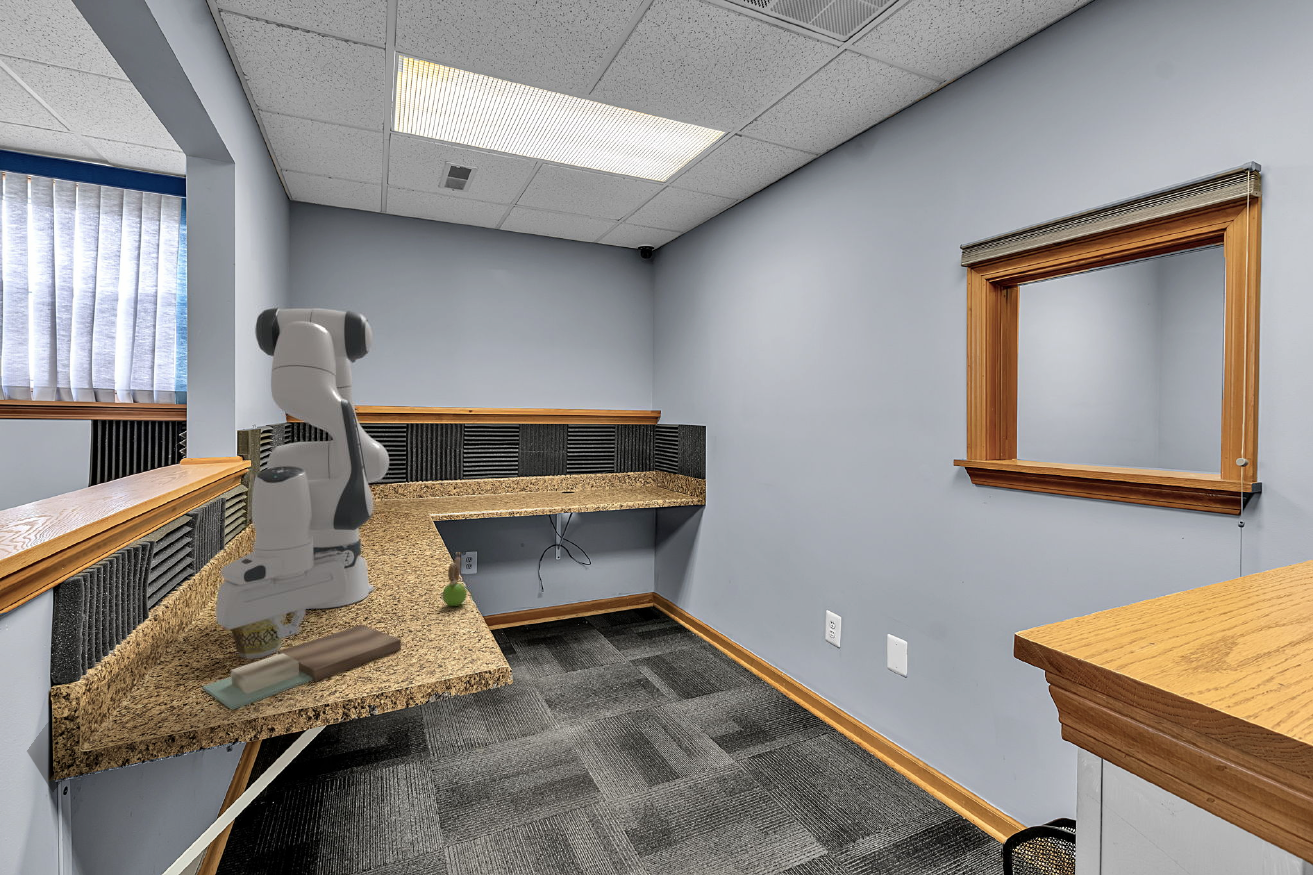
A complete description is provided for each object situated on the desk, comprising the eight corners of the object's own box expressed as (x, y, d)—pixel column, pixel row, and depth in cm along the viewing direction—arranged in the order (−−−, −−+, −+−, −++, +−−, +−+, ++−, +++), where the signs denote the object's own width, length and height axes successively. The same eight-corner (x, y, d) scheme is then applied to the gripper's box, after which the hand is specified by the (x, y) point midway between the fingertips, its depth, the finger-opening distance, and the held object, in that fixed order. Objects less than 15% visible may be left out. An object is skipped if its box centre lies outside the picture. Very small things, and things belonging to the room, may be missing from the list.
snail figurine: (470, 600, 143) (469, 551, 143) (463, 609, 137) (461, 558, 136) (448, 600, 143) (447, 551, 142) (439, 609, 137) (438, 558, 136)
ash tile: (231, 684, 100) (231, 669, 100) (283, 666, 106) (282, 653, 106) (246, 693, 96) (246, 679, 96) (299, 675, 103) (298, 661, 103)
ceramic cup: (281, 659, 111) (279, 606, 110) (219, 666, 108) (216, 612, 107) (301, 633, 123) (299, 586, 122) (246, 639, 120) (244, 591, 120)
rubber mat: (202, 689, 99) (202, 686, 99) (280, 663, 109) (280, 660, 109) (231, 709, 92) (231, 706, 92) (312, 680, 102) (312, 677, 102)
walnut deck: (278, 661, 109) (277, 651, 109) (362, 633, 123) (362, 624, 122) (315, 681, 101) (314, 670, 101) (401, 649, 115) (400, 639, 114)
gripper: (335, 544, 114) (338, 613, 115) (209, 570, 97) (214, 651, 98) (352, 549, 110) (355, 621, 111) (224, 577, 94) (229, 661, 95)
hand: (288, 635), depth 105 cm, fingers closed
